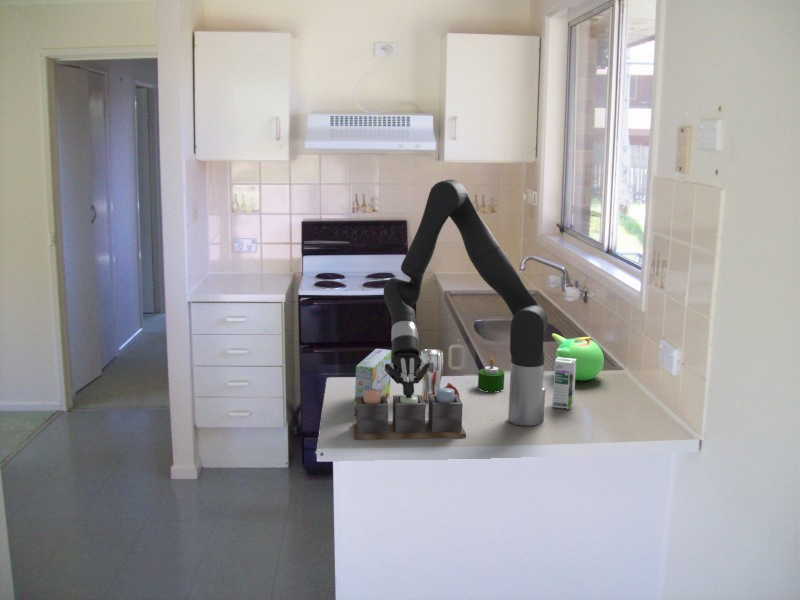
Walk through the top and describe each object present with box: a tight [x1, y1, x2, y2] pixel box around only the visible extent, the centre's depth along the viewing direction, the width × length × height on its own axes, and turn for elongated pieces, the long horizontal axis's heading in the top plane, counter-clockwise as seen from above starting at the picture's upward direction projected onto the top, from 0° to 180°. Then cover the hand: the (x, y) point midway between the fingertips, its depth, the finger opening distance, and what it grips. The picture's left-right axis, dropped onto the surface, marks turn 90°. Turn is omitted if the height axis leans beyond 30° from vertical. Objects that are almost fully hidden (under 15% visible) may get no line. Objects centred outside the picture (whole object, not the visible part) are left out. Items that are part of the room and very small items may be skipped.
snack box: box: [354, 348, 392, 416], centre depth 249 cm, size 21×6×15 cm, turn 166°
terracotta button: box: [363, 389, 381, 404], centre depth 227 cm, size 5×5×4 cm
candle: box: [477, 358, 505, 393], centre depth 268 cm, size 8×8×10 cm
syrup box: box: [551, 357, 576, 410], centre depth 253 cm, size 6×6×14 cm
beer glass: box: [419, 348, 444, 403], centre depth 256 cm, size 7×7×15 cm
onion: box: [443, 382, 460, 398], centre depth 249 cm, size 6×6×8 cm
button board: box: [352, 394, 467, 441], centre depth 229 cm, size 30×11×9 cm, turn 96°
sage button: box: [400, 394, 418, 403], centre depth 229 cm, size 5×5×4 cm
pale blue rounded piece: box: [437, 387, 454, 403], centre depth 229 cm, size 5×5×4 cm
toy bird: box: [551, 333, 605, 382], centre depth 280 cm, size 18×17×15 cm
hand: (409, 396), depth 228 cm, fingers closed
